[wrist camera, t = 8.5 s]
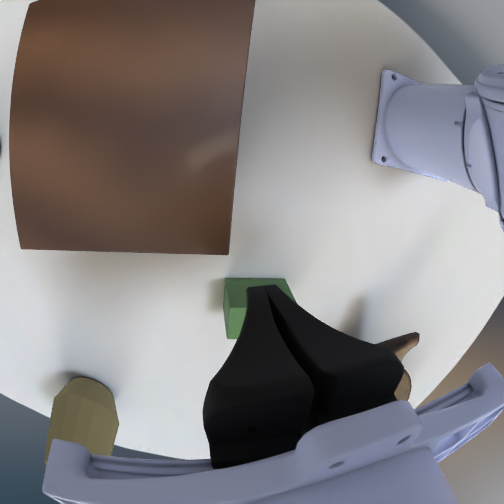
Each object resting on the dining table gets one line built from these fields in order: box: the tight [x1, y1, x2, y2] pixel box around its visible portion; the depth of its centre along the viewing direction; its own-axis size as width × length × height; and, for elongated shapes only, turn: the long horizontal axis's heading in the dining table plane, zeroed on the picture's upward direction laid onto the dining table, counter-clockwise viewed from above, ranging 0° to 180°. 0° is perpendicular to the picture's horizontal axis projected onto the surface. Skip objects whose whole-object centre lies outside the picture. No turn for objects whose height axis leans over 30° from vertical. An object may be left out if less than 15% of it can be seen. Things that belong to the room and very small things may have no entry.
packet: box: [223, 278, 296, 339], centre depth 22 cm, size 5×3×4 cm, turn 84°
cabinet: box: [9, 0, 255, 255], centre depth 13 cm, size 14×12×8 cm
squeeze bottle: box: [45, 377, 119, 504], centre depth 19 cm, size 8×8×18 cm
